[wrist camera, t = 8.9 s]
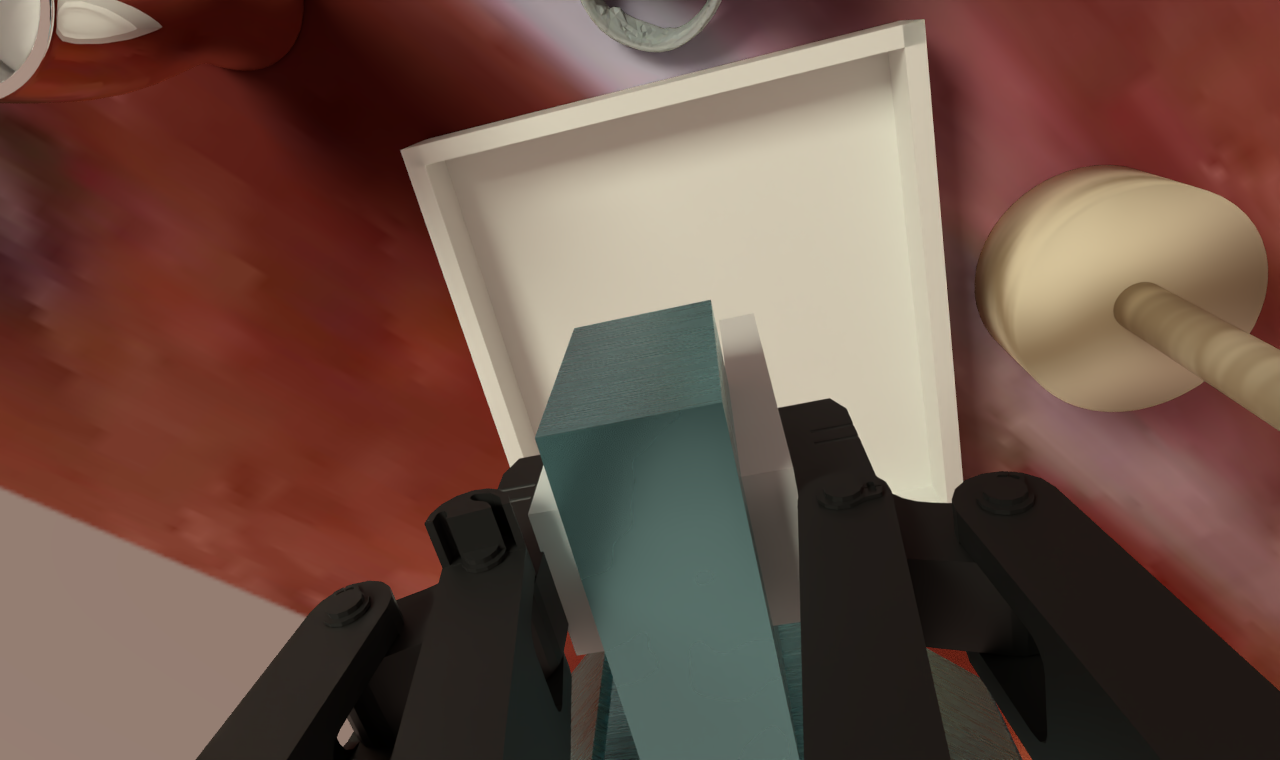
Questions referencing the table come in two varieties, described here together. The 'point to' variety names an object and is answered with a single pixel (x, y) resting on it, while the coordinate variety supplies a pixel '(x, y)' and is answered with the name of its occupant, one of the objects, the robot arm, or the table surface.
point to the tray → (720, 236)
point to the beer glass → (133, 43)
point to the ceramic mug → (646, 27)
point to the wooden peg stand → (1129, 292)
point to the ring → (684, 560)
